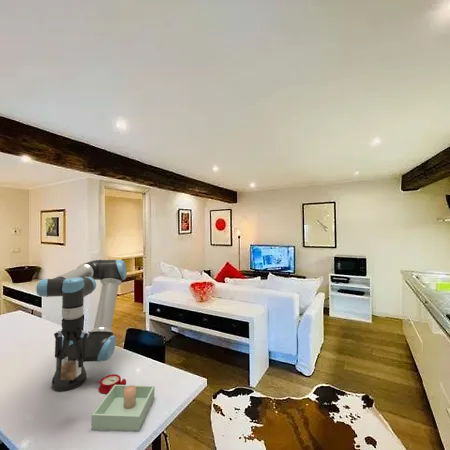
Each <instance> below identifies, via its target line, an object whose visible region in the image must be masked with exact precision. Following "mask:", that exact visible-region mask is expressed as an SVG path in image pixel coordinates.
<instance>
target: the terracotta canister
mask: <svg viewBox="0 0 450 450" xmlns="http://www.w3.org/2000/svg"><path fill="white" fill-rule="evenodd" d="M135 405H136V386H133V384H131V386H127V387H126V388H125V389H124V408H125V409H131V408H133V407H134V406H135Z"/></svg>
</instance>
